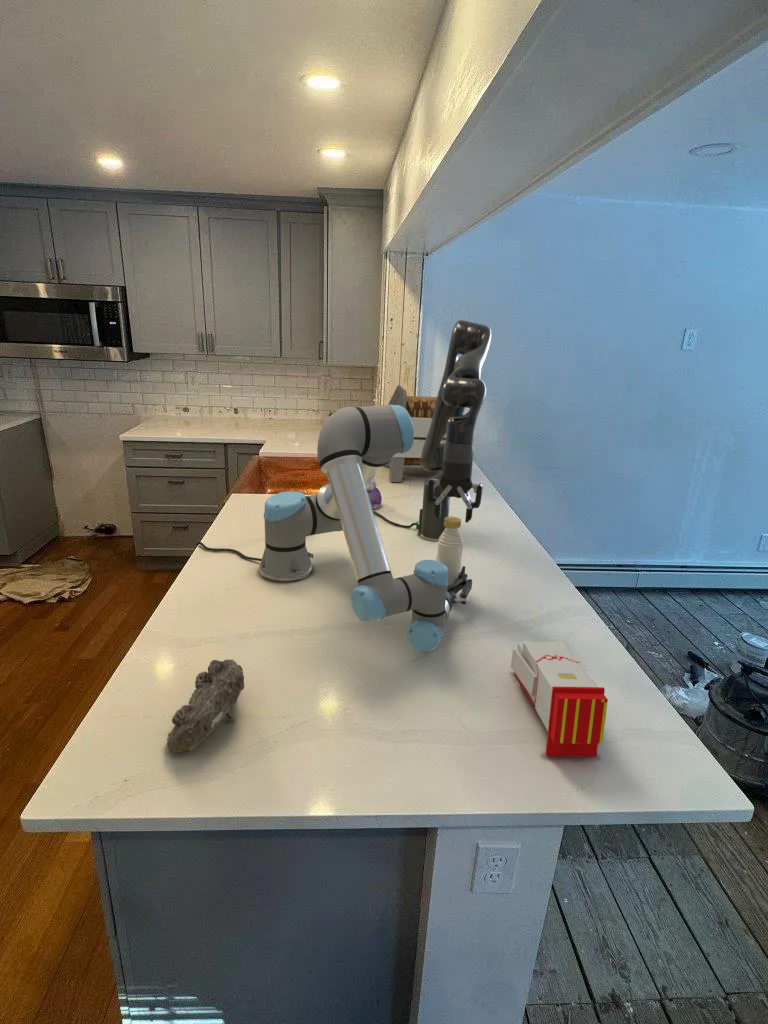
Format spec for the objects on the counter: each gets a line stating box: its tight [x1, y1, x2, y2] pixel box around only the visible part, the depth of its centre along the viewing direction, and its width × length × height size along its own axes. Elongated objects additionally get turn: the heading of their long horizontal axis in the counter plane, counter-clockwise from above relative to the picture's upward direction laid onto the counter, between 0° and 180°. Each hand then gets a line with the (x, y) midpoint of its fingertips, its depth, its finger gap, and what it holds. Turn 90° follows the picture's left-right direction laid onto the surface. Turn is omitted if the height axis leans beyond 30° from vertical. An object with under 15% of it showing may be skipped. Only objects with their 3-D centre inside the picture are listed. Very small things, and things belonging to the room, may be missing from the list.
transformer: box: [384, 384, 446, 483], centre depth 268 cm, size 34×33×41 cm
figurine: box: [365, 471, 383, 510], centre depth 223 cm, size 9×10×15 cm
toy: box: [510, 641, 609, 758], centre depth 113 cm, size 12×13×30 cm
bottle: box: [435, 527, 464, 596], centre depth 153 cm, size 7×7×23 cm
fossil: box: [166, 658, 245, 754], centre depth 106 cm, size 22×10×15 cm
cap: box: [444, 516, 462, 529], centre depth 149 cm, size 4×4×2 cm
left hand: (450, 568), depth 159 cm, fingers closed on bottle, 7 cm apart
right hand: (452, 519), depth 149 cm, fingers open, 7 cm apart
